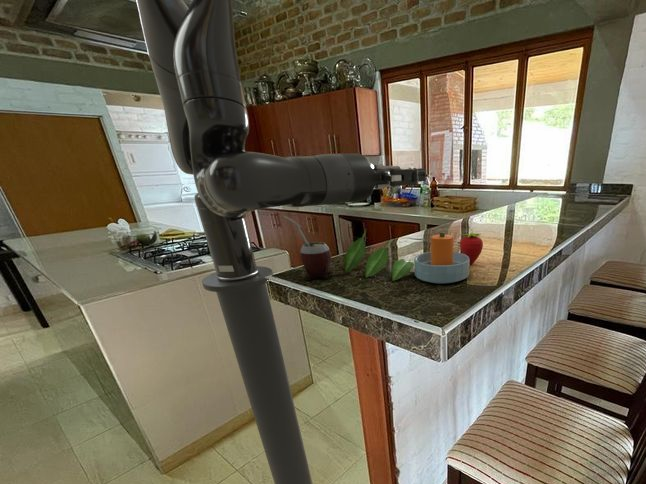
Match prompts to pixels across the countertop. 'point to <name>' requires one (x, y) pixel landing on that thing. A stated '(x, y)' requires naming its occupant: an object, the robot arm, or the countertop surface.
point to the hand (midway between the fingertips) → (408, 173)
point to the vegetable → (442, 249)
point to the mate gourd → (314, 257)
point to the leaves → (375, 260)
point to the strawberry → (471, 246)
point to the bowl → (441, 269)
